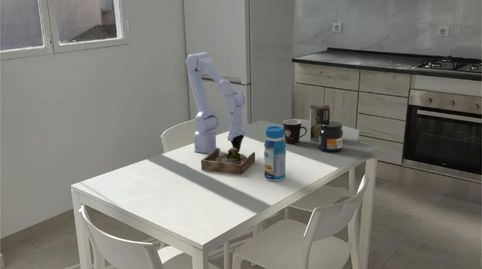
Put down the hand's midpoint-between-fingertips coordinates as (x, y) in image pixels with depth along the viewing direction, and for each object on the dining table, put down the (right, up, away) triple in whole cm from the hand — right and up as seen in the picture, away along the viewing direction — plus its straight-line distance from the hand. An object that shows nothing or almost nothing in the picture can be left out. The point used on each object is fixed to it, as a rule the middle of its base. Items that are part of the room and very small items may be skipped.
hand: (236, 151), depth 199 cm
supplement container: (+42, +1, +9) cm, 43 cm away
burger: (-2, -4, -3) cm, 5 cm away
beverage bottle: (+15, -9, -20) cm, 27 cm away
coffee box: (+40, +5, +24) cm, 46 cm away
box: (-3, -5, -7) cm, 9 cm away
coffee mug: (+27, +3, +18) cm, 33 cm away
